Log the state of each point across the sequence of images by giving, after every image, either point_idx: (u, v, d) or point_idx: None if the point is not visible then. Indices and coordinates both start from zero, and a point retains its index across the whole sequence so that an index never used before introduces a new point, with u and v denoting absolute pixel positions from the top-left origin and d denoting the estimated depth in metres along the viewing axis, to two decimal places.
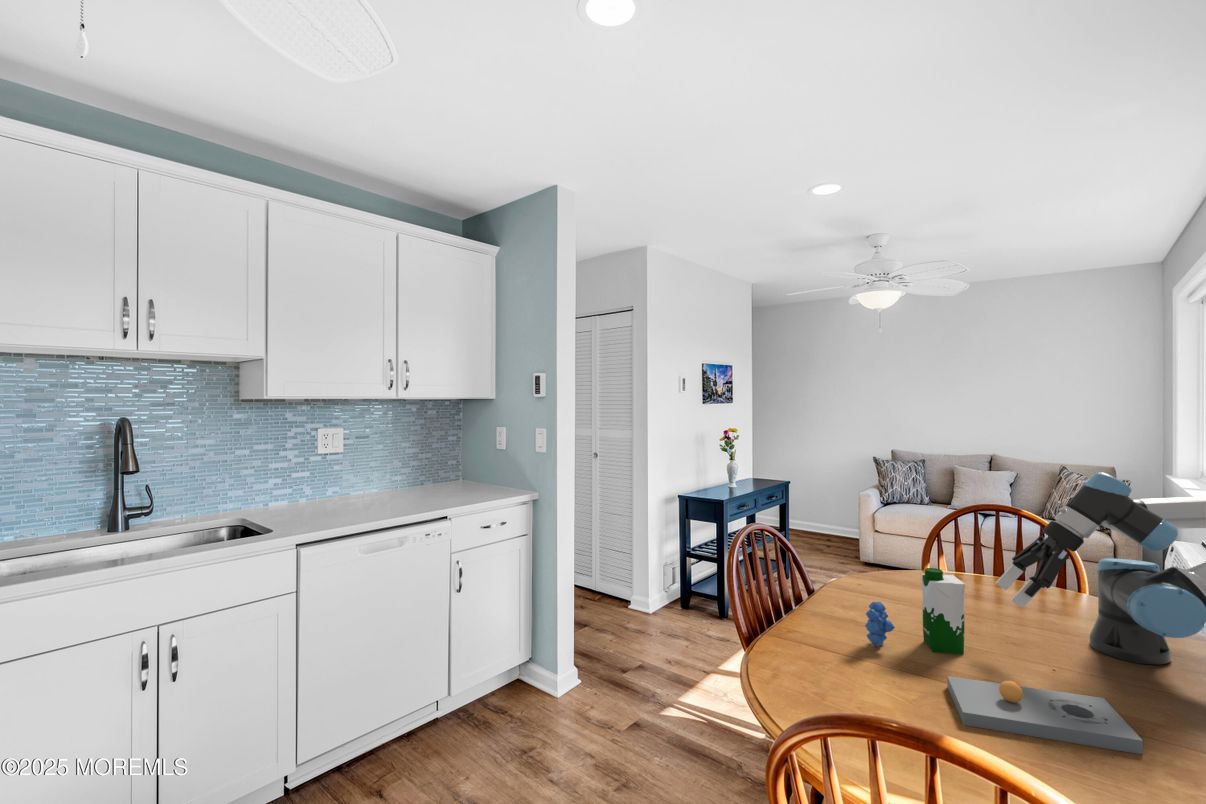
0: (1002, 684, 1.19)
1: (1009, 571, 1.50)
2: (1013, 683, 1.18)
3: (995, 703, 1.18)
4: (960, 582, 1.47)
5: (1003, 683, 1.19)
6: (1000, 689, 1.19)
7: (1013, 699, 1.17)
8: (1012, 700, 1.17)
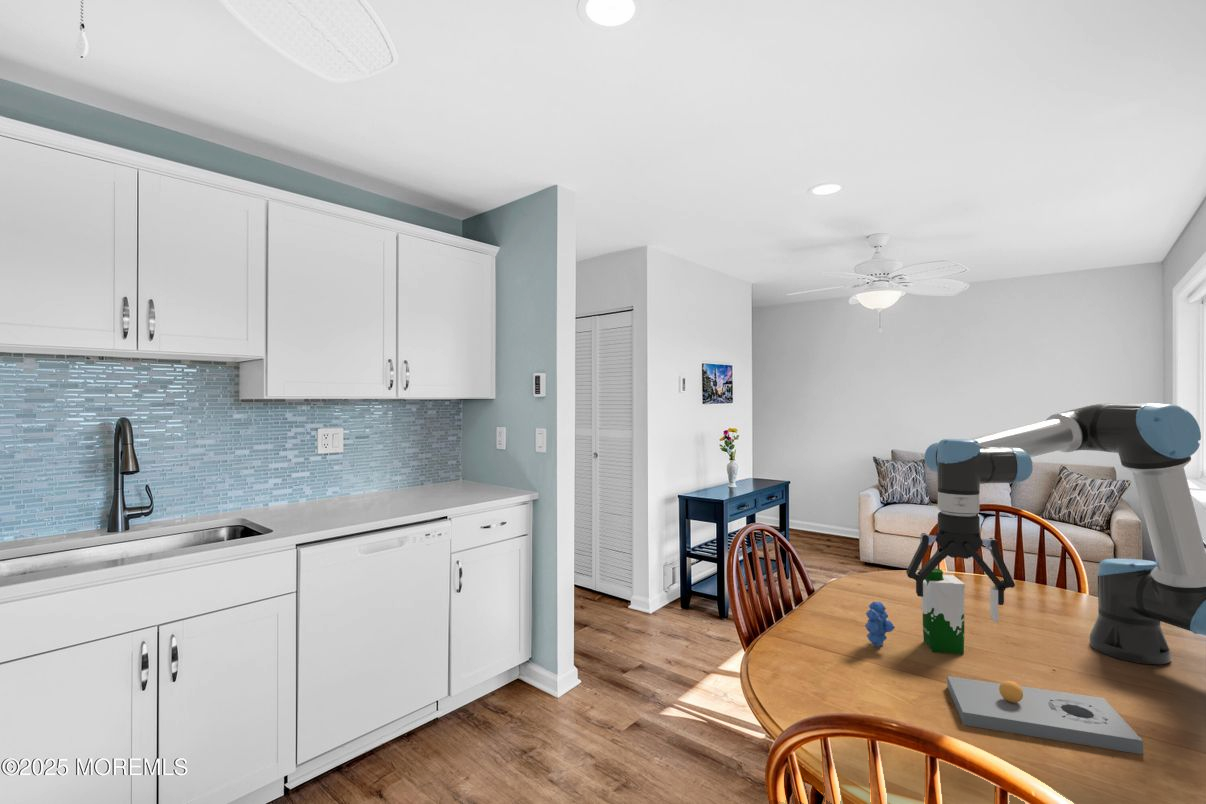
0: (1002, 684, 1.19)
1: (926, 592, 1.23)
2: (1013, 683, 1.18)
3: (995, 703, 1.18)
4: (960, 582, 1.47)
5: (1003, 683, 1.19)
6: (1000, 689, 1.19)
7: (1013, 699, 1.17)
8: (1012, 700, 1.17)
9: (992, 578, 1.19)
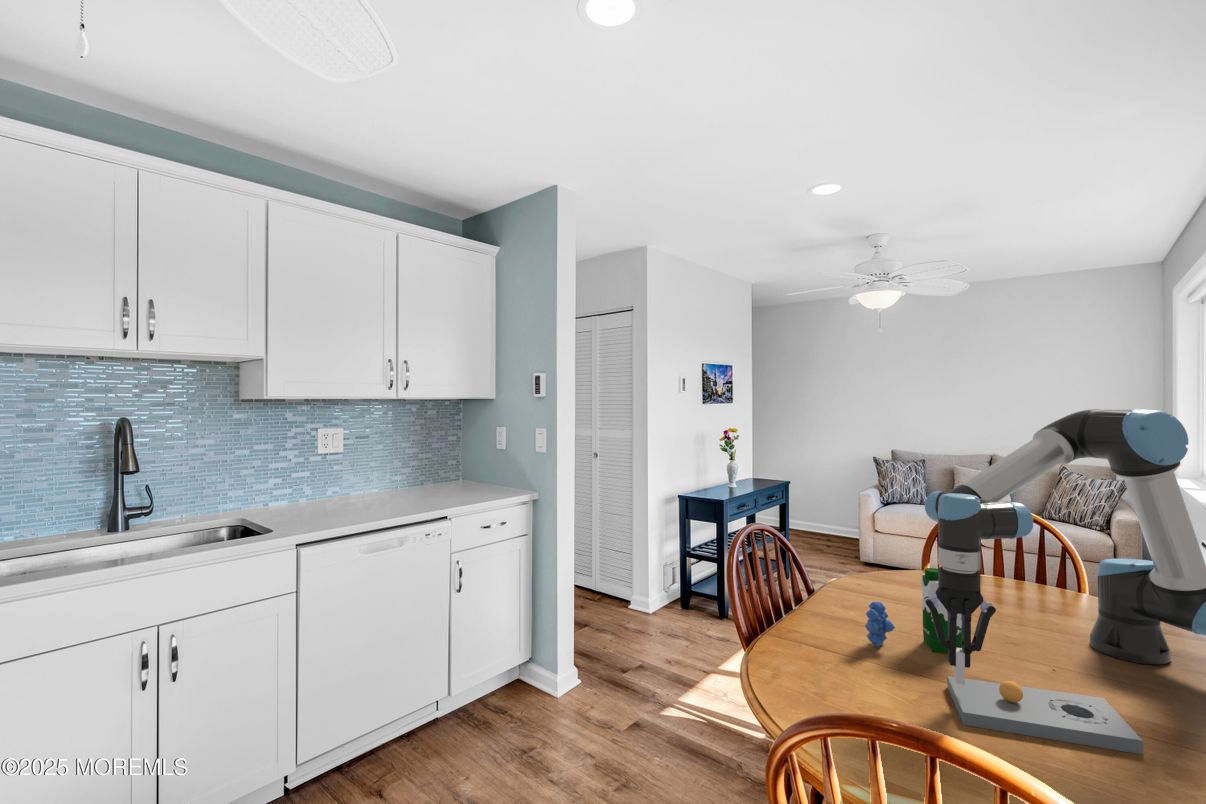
0: (1002, 684, 1.19)
1: None
2: (1013, 683, 1.18)
3: (995, 703, 1.18)
4: None
5: (1003, 683, 1.19)
6: (1000, 689, 1.19)
7: (1013, 699, 1.17)
8: (1012, 700, 1.17)
9: (966, 639, 1.20)
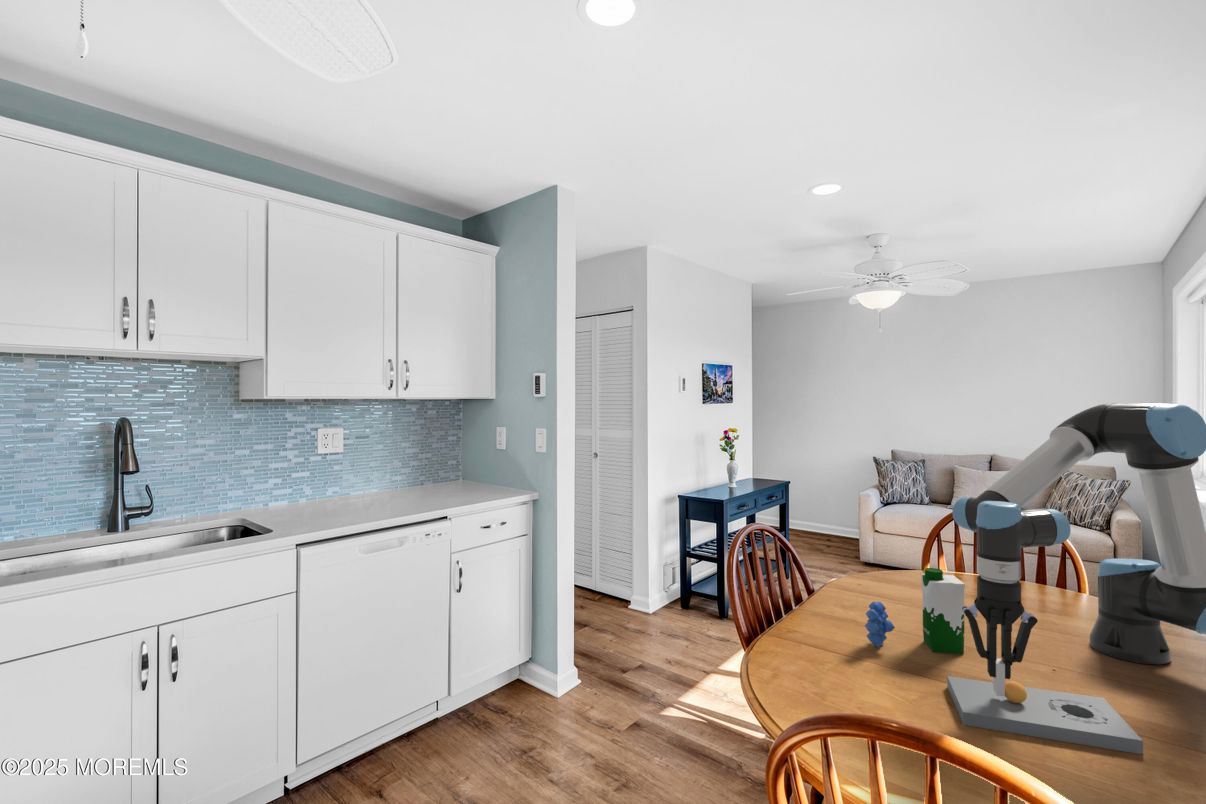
0: (1008, 683, 1.18)
1: None
2: (1020, 685, 1.18)
3: (995, 703, 1.18)
4: (960, 582, 1.47)
5: (1009, 682, 1.18)
6: (1005, 687, 1.19)
7: (1016, 699, 1.17)
8: (1014, 700, 1.17)
9: (1006, 650, 1.18)
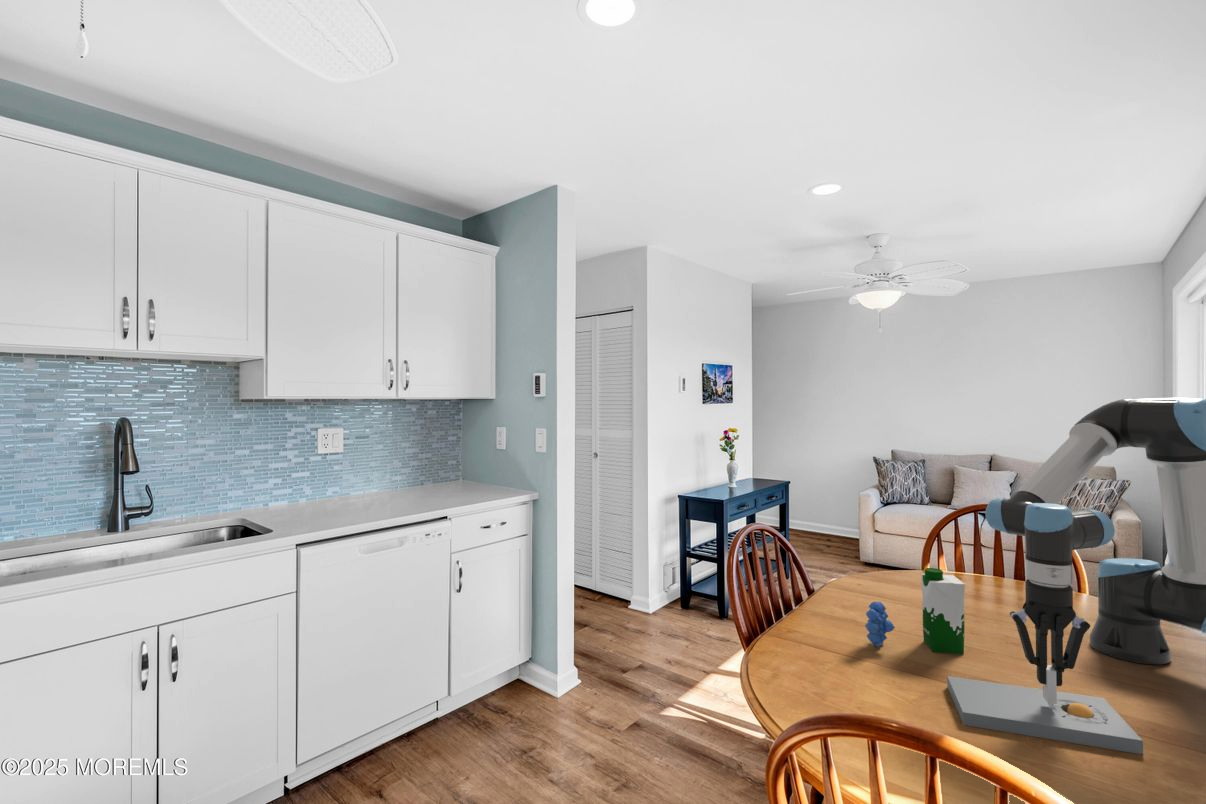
0: (1070, 707, 1.15)
1: None
2: (1082, 705, 1.14)
3: (995, 703, 1.18)
4: (960, 582, 1.47)
5: (1071, 706, 1.15)
6: (1069, 713, 1.15)
7: None
8: None
9: (1057, 656, 1.15)
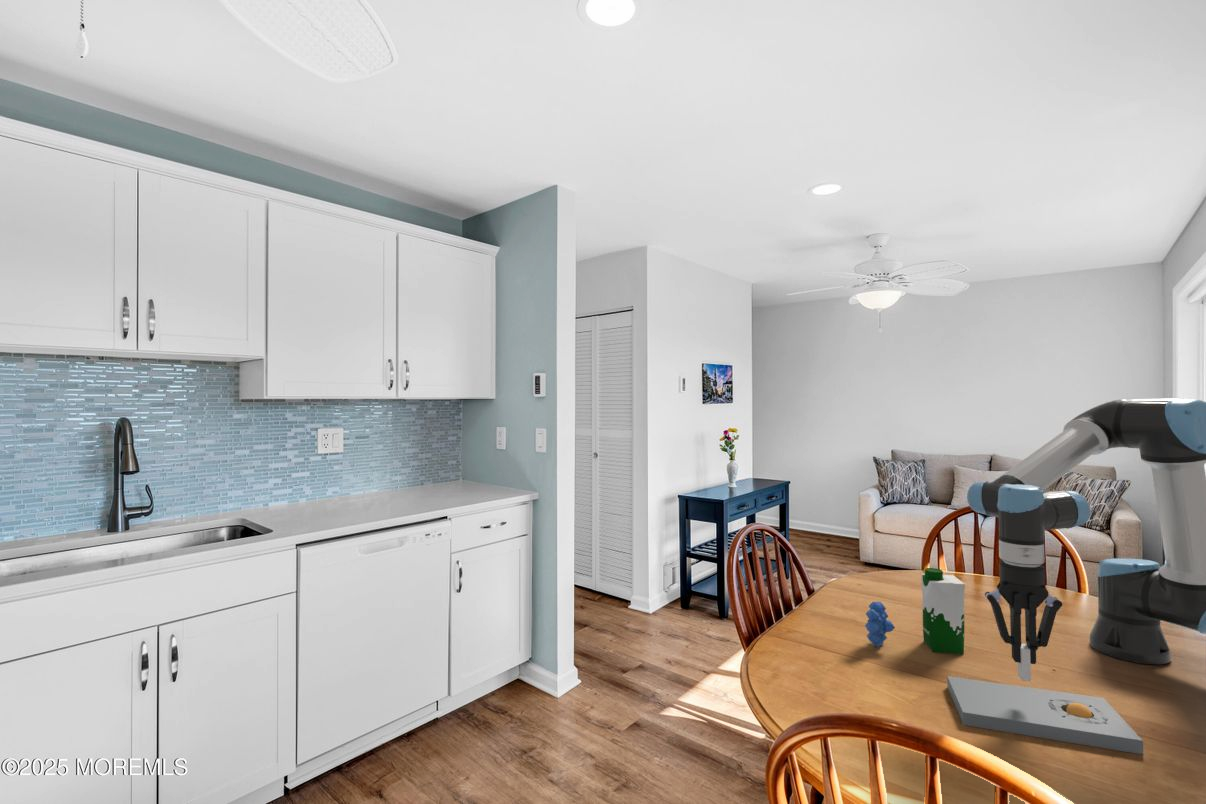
0: (1068, 708, 1.15)
1: None
2: (1079, 705, 1.14)
3: (995, 703, 1.18)
4: (960, 582, 1.47)
5: (1069, 707, 1.15)
6: None
7: None
8: None
9: (1031, 635, 1.16)
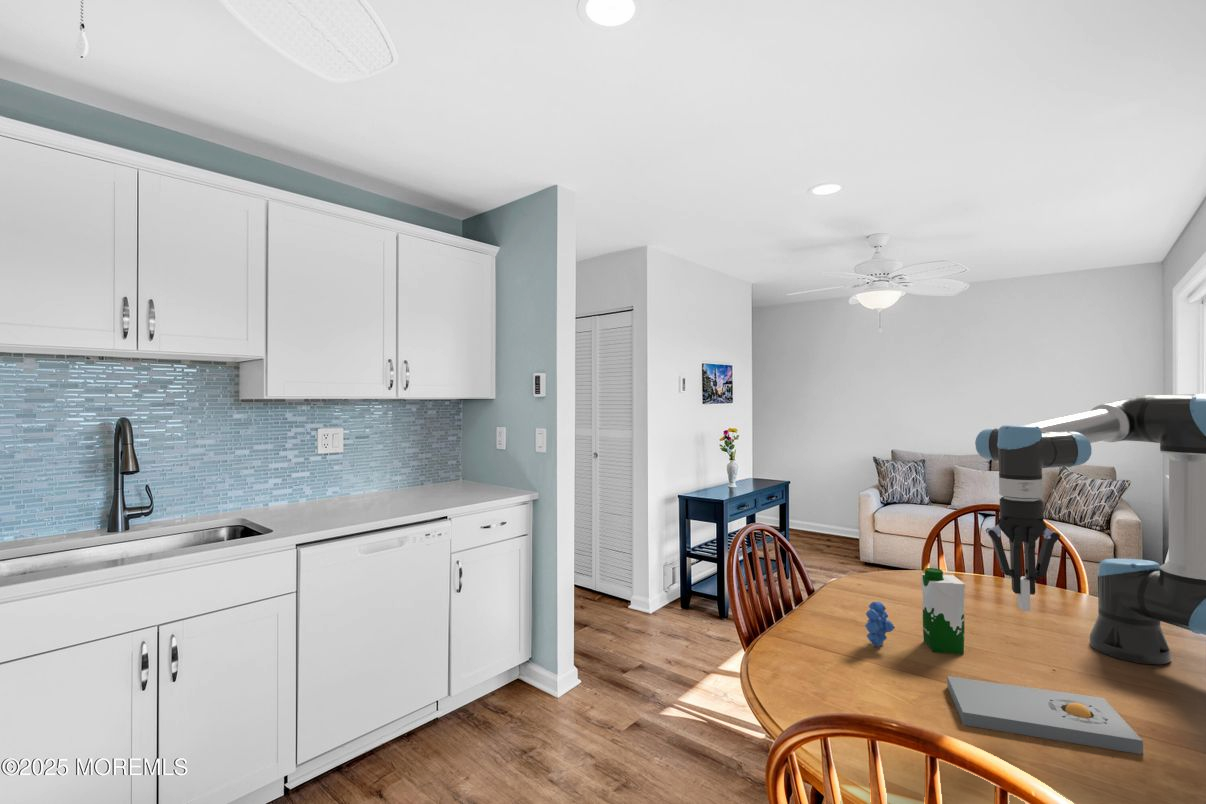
0: (1067, 708, 1.15)
1: None
2: (1077, 705, 1.14)
3: (995, 703, 1.18)
4: (960, 582, 1.47)
5: (1068, 707, 1.15)
6: None
7: None
8: None
9: (1030, 566, 1.22)
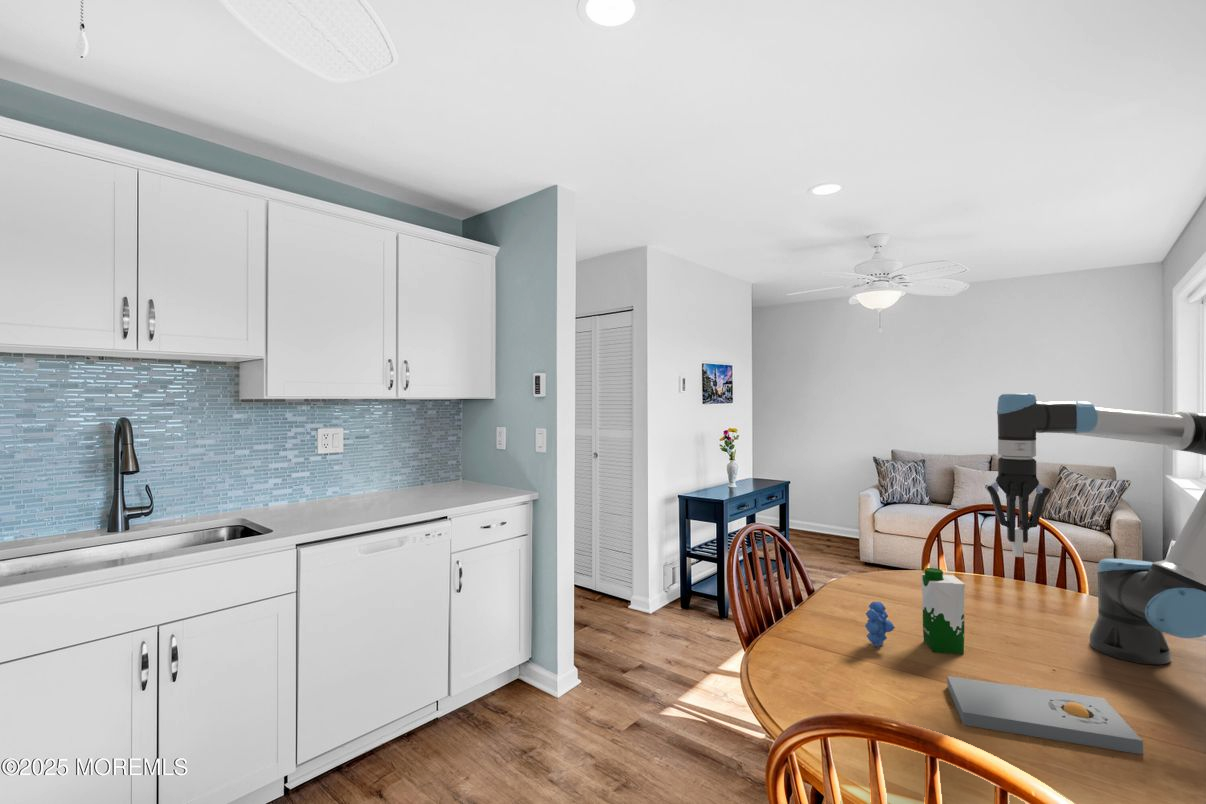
0: (1064, 710, 1.15)
1: None
2: (1073, 705, 1.14)
3: (995, 703, 1.18)
4: (960, 582, 1.47)
5: (1065, 708, 1.15)
6: None
7: None
8: None
9: (1024, 518, 1.38)
